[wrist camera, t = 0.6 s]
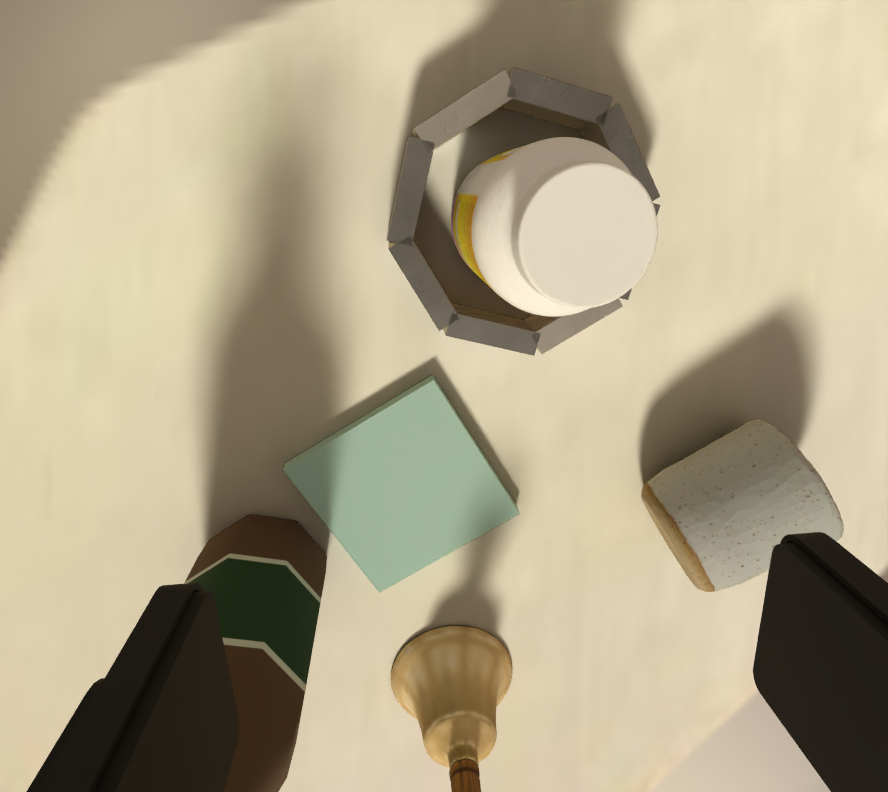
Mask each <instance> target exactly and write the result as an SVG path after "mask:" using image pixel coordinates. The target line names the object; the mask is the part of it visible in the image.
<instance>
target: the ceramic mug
mask: <svg viewBox="0 0 888 792" xmlns="http://www.w3.org/2000/svg"><path fill="white" fill-rule="evenodd" d="M641 497H642V500H643V502H644V504H645V506H646V508H647V510H648V512H649V514H650V516H651V517H652V519H653V521H654V522H655V524H656V526H657V528H658V529H659V531H660V533H661V535H662V536H663V538H664V539H665V541H666V543H667V545H668V546H669V548H670V550H671V551H672V553H673V554H674V556H675V557H676V559H677V561H678V562H679V564H680V565H681V567H682V568H683V570H684V572H685V573H686V575H687V576H688V577H689V579H690V580H691V581H692V583H693V584H694V585H695V586H696V587H697V588H698V589H700V590H703V591H706V592H711V591H718V590H722V589H725V588H729V587H732V586H735V585H738V584H741V583H743V582H745V581H747V580H749V579H752V578H754V577H756V576H758V575H760V574H762V573H764V572H766V571H768V570H769V567H770V561H771V555H772V551H773V548H774V547H775V545H777V544H780V542H781V540H782V538H783V537H784V536H786V535H788V534H800V533H812V532H822V533H825V534H827V535H828V536H830V537H831V538H832V539H834V540H835V541H837V540H839V539H840V538H841V537H842V535H843V530H844V529H843V522H842V519H841V516H840V512H839V510H838V508H837V506H836V504H835V502H834V500H833V498H832V496H831V494H830V492H829V490H828V488H827V487H826V485H825V483H824V481H823V480H822V478H821V476H820V475H819V474H818V472H817V471H816V469H815V468H814V467H813V465H812V464H811V463H810V462H809V461H808V460H807V459H806V458H805V456H804V455H803V454H802V452H801V451H800V450H799V449H798V447H797V446H796V445H795V444H794V443H793V442H792V441H790V440H789V439H788V438H787V437H786V436H785V435H784V434H783V433H782V432H781V431H779V430H778V429H777V428H775V427H774V426H773V425H771V424H770V423H768V422H766V421H764V420H761V419H754V420H751V421H749V422H747V423H745V424H744V425H742V426H740V427H739V428H737V429H735V430H734V431H732V432H730V433H728V434H726V435H724V436H723V437H721V438H719V439H717V440H715V441H714V442H712V443H710V444H709V445H707V446H705V447H703V448H702V449H700V450H698V451H696V452H695V453H693V454H691V455H690V456H688V457H686V458H684V459H682V460H680V461H679V462H677V463H675V464H673V465H671V466H669V467H667V468H666V469H664V470H662V471H661V472H659V473H658V474H657V475H656V476H654V477H653V478H652V479H650V480H649V481H648V482H647V483H646V484H645V485H644V487H643V489H642V495H641Z"/></svg>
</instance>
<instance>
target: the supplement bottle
mask: <svg viewBox="0 0 888 792" xmlns="http://www.w3.org/2000/svg"><path fill="white" fill-rule="evenodd" d="M451 228H452V235H453V239H454V242H455V245H456V248H457V250H458V252H459V254H460V256H461V257H462V259H463V260H464V262H465V263H466V264H467V265H468V266H469V267H470V268H471V270H472V271H473V272H474V273H476V274H477V275H478V276H479V277H480V278H481V279H482V280H483V281H484V282H485V283H486V284H487V285H488V286H489V287H490V288H491V289H492V290H493V291H495V292H496V293H497V294H498V295H499V296H500V297H502V298H503V299H504V300H505V301H507V302H508V303H510V304H511V305H513V306H515V307H517V308H519V309H521V310H523V311H525V312H528V313H532V314H536V315H541V316H566V315H572V314H576V313H579V312H582V311H585V310H587V309H589V308H592V307H597V306H601V305H604V304H608V303H610V302H612V301H614V300H616V299H617V298H619V297H621V296H622V295H624V294H625V293H626V292H628V291H629V290H630V289H631V288H632V287H633V286H634V285H635V284H636V283H637V282H638V281H639V279H640V278H641V277H642V275H643V274H644V272H645V271H646V269H647V267H648V266H649V264H650V261H651V259H652V256H653V253H654V250H655V246H656V241H657V216H656V212H655V208H654V205H653V202H652V200H651V198H650V196H649V194H648V192H647V191H646V189H645V188H644V186H643V185H642V184H641V183H640V181H639V180H638V179H636V178H635V177H634V176H633V175H632V174H631V172H630V171H629V169H628V168H627V167H626V166H625V164H624V163H623V162H622V161H621V160H620V159H619V158H618V157H617V156H615V155H614V154H613V153H612V152H610V151H609V150H607V149H606V148H604V147H602V146H600V145H598V144H596V143H594V142H591V141H588V140H584V139H580V138H573V137H556V138H549V139H545V140H540V141H537V142H534V143H530V144H528V145H525V146H522V147H519V148H515V149H512V150H509V151H506V152H503V153H500V154H497V155H495V156H492V157H490V158H488V159H487V160H485V161H483V162H482V163H480V164H479V165H478V166H476V167H475V168H474V169H473V170H472V171H471V172H470V173H469V174H468V175H467V177H466V178H465V179H464V181H463V182H462V184H461V186H460V187H459V189H458V191H457V194H456V196H455V199H454V203H453V207H452V213H451Z"/></svg>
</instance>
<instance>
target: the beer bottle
mask: <svg viewBox="0 0 888 792" xmlns="http://www.w3.org/2000/svg"><path fill="white" fill-rule="evenodd" d="M326 560H327V556H326V554H325V553H324V552H323V551H322V550H321V548H320V547H319V546H318V545H317V544H316V543H315V542H314V540H313V539H312V538H311V537H310V536H309V535H308V533H307V532H306V531H305V530H304V529H303V528H302V527H301V525H300V524H299V523H298V522H297V521H292V520H285V519H278V518H271V517H264V516H257V515H248V516H246V517H244V518H243V519H241V520H240V521H238V522H237V523H235V524H233V525H232V526H230V527H229V528H227V529H226V530H224V531H223V532H221V533H219V534H218V535H216V536H215V537H213V538H212V539H210V540H209V541H208V542H207V544H206V546H205V547H204V549H203V550H202V552H201V553H200V555H199V556H198V558H197V560H196V562H195V564H194V566H193V568H192V570H191V572H190V573H189V575H188V577H187V579H186V581H185V583H184V584H188V583H198V584H200V586H201V587H202V590H203V592H204V591H211V592H212V593H213V595H214V598H215V603H216V608H217V613H218V618H219V623H220V628H221V633H222V638H223V643H224V648H225V653H226V658H227V662H228V667H229V672H230V677H231V682H232V687H233V692H234V697H235V702H236V707H237V712H238V717H239V736H238V742H237V746H236V750H235V753H234V757H233V760H232V764H231V768H230V771H229V775H228V778H227V782H226V785H225V789H224V792H278V791H279V790H280V788H281V786H282V785H283V783H284V781H285V780H286V778H287V775H288V771H289V767H290V763H291V760H292V756H293V752H294V748H295V744H296V739H297V734H298V728H299V723H300V717H301V711H302V706H303V700H304V694H305V689H306V683H307V677H308V671H309V666H310V660H311V654H312V648H313V642H314V637H315V631H316V625H317V619H318V613H319V608H320V602H321V596H322V590H323V585H324V579H325V573H326Z"/></svg>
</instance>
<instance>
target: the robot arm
mask: <svg viewBox="0 0 888 792" xmlns="http://www.w3.org/2000/svg"><path fill="white" fill-rule="evenodd" d="M753 675H754V680H755V684H756V686H757V688H758V690H759V692H760V694H761V695H762V696H763V698H764V699H765V701H766V702H767V703H768V705H769V706H770V707H771V709H772V710H773V712H774V713H775V714H776V716H777V717H778V719H779V720H780V721H781V723H782V724H783V725H784V727H785V728H786V730H787V731H788V733H789V734H790V735H791V737H792V738H793V739H794V741H795V742H796V744H797V745H798V746H799V748H800V749H801V751H802V752H803V753H804V755H805V756H806V758H807V759H808V760H809V762H810V763H811V764H812V766H813V767H814V769H815V770H816V771H817V773H818V774H819V776H820V777H821V778H822V780H823V781H824V783H825V784H826V785H827V787H828V788H829V789H830V791H831V792H888V583H887V582H886V581H884V580H883V579H882V578H881V577H879V576H878V575H877V574H876V573H874V572H873V571H872V570H871V569H870V568H868V567H867V566H866V565H865V564H863V563H862V562H861V561H860V560H858V559H857V558H856V557H855V556H853V555H852V554H851V553H850V552H848V551H847V550H846V549H845V548H844V547H842V546H841V545H840V544H839V543H837V542H836V541H835V540H834V539H832V538H831V537H830V536H828V535H827V534H825V533H822V532H812V533H800V534H788V535H786V536H784V537H783V538H782V540H781V542H780V544H777V545H775V547H774V548H773V551H772V555H771V561H770V567H769V574H768V580H767V586H766V592H765V598H764V605H763V611H762V617H761V623H760V629H759V635H758V642H757V648H756V654H755V660H754V666H753ZM238 736H239V717H238V712H237V707H236V702H235V697H234V692H233V687H232V682H231V677H230V672H229V667H228V662H227V658H226V653H225V648H224V643H223V638H222V633H221V628H220V623H219V618H218V613H217V608H216V603H215V598H214V595H213V593H212V592H211V591H204V592H203V590H202V587H201V586H200V584H198V583H188V584H176V585H163V586H161V587H159V588H158V589H157V590H156V592H155V594H154V595H153V597H152V599H151V600H150V602H149V604H148V606H147V607H146V609H145V611H144V612H143V614H142V616H141V617H140V619H139V621H138V623H137V624H136V626H135V628H134V629H133V631H132V633H131V634H130V636H129V638H128V640H127V641H126V643H125V645H124V646H123V648H122V650H121V652H120V653H119V655H118V657H117V658H116V660H115V662H114V663H113V665H112V667H111V669H110V670H109V672H108V674H107V675H106V677H105V678H103V679H100V680H98V681H97V682H95V683H94V684H93V685H92V686H91V688H90V689H89V690H88V691H87V693H86V695H85V696H84V698H83V700H82V701H81V703H80V705H79V706H78V708H77V709H76V711H75V713H74V714H73V716H72V718H71V719H70V721H69V723H68V724H67V726H66V728H65V729H64V731H63V733H62V734H61V736H60V738H59V739H58V741H57V742H56V744H55V746H54V747H53V749H52V751H51V752H50V754H49V756H48V757H47V759H46V761H45V762H44V764H43V766H42V767H41V769H40V770H39V772H38V774H37V775H36V777H35V779H34V780H33V782H32V784H31V785H30V787H29V789H28V790H27V792H224V789H225V785H226V782H227V778H228V775H229V771H230V768H231V764H232V760H233V757H234V753H235V750H236V746H237V742H238Z"/></svg>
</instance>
